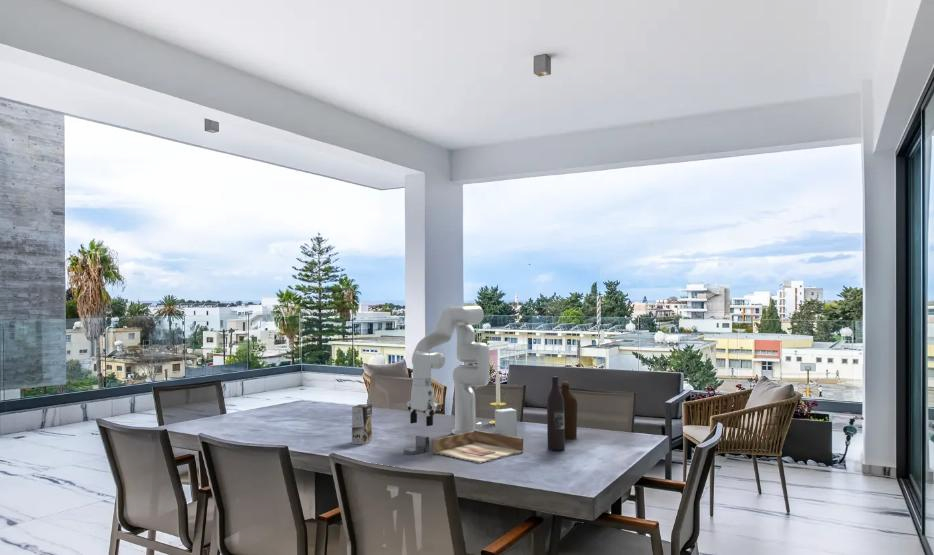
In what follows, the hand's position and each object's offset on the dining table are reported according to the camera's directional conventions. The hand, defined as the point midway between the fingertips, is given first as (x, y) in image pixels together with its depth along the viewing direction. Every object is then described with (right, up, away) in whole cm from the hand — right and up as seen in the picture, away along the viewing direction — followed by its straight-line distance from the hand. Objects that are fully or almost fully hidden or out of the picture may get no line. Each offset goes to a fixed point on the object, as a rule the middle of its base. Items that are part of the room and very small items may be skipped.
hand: (421, 424), depth 263 cm
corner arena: (+23, -11, -5) cm, 26 cm away
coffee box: (-27, -12, +17) cm, 35 cm away
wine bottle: (+56, -11, +1) cm, 57 cm away
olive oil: (+64, -12, +25) cm, 69 cm away
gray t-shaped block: (-2, -11, -3) cm, 11 cm away
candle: (+35, -14, +62) cm, 72 cm away
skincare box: (+36, -11, +11) cm, 39 cm away
